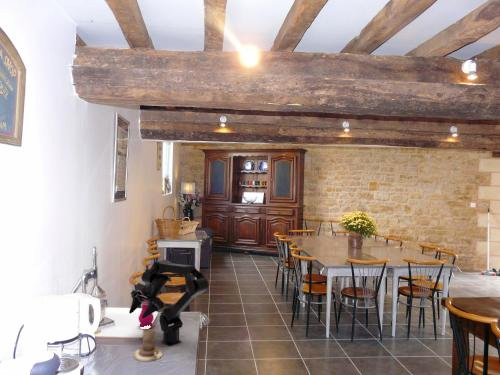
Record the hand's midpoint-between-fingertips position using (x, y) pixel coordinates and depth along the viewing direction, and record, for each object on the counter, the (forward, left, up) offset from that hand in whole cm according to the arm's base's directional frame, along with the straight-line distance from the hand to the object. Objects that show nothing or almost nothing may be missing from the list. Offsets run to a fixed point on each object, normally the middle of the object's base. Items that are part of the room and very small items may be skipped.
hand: (135, 315), depth 182 cm
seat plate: (0, +12, -14) cm, 18 cm away
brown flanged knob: (0, +12, -13) cm, 17 cm away
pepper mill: (-15, -17, -14) cm, 27 cm away
